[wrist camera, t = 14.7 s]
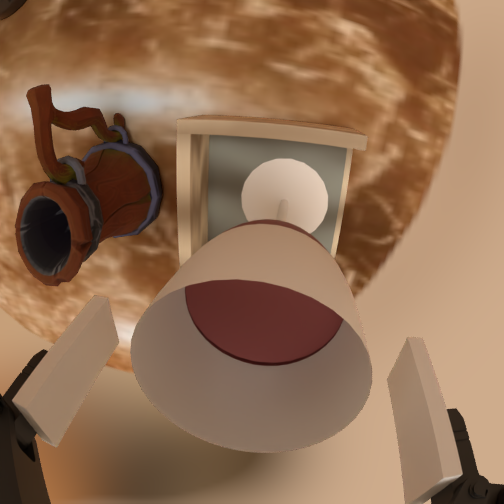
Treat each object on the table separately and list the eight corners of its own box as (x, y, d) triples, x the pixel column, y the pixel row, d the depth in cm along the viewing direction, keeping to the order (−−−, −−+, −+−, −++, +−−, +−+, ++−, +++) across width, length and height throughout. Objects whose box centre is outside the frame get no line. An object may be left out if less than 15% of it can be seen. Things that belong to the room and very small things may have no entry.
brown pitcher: (85, 84, 29) (-15, 95, 16) (173, 81, 28) (84, 77, 15) (87, 225, 38) (10, 284, 24) (165, 239, 37) (99, 316, 23)
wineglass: (234, 239, 34) (147, 427, 14) (244, 145, 29) (114, 253, 9) (320, 253, 33) (327, 461, 13) (339, 160, 29) (416, 305, 8)
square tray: (201, 115, 30) (177, 119, 24) (353, 128, 28) (367, 136, 22) (200, 256, 37) (180, 288, 31) (330, 272, 35) (334, 308, 29)
